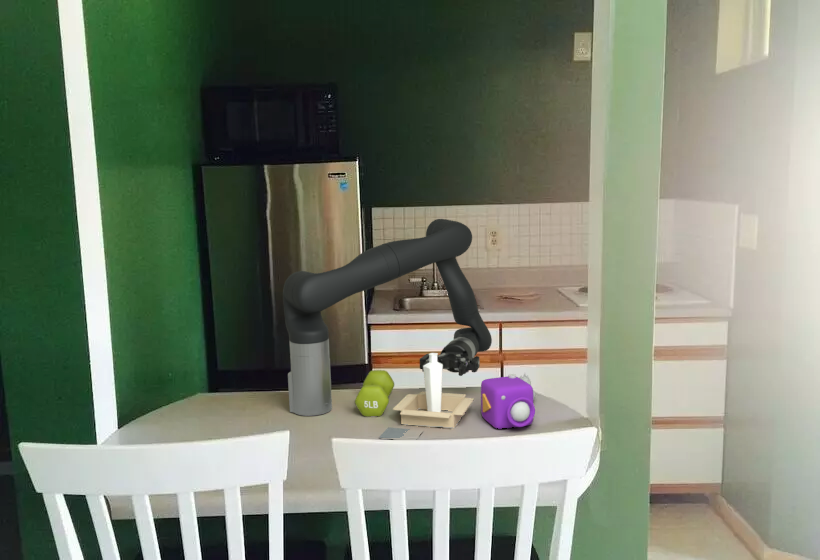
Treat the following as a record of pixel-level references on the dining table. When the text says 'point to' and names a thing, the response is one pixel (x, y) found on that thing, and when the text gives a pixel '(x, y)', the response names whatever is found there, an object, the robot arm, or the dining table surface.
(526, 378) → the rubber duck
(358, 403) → the dumbbell
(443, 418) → the carton
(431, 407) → the white vase
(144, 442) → the dining table surface
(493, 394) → the toy camera
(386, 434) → the mat
